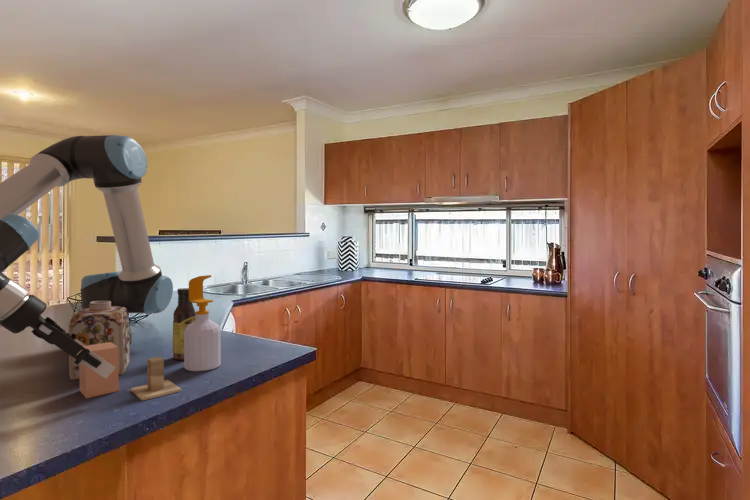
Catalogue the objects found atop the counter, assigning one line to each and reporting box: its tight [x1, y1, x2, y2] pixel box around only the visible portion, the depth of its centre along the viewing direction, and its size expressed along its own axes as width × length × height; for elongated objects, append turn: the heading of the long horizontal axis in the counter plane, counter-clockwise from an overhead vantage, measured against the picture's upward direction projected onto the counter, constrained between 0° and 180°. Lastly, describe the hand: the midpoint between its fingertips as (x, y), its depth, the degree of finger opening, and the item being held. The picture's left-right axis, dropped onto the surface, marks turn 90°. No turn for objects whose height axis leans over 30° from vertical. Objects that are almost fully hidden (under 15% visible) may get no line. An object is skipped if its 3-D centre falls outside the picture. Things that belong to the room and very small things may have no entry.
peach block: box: [79, 342, 120, 399], centre depth 95 cm, size 6×6×10 cm
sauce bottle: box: [172, 287, 196, 361], centre depth 121 cm, size 6×6×20 cm
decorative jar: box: [68, 301, 131, 381], centre depth 109 cm, size 12×12×18 cm
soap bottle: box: [183, 274, 222, 373], centre depth 113 cm, size 9×9×25 cm
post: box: [130, 356, 182, 401], centre depth 95 cm, size 8×8×7 cm
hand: (102, 365), depth 95 cm, fingers open, 13 cm apart
